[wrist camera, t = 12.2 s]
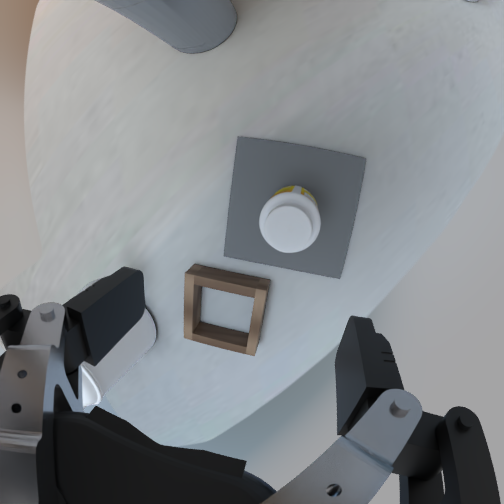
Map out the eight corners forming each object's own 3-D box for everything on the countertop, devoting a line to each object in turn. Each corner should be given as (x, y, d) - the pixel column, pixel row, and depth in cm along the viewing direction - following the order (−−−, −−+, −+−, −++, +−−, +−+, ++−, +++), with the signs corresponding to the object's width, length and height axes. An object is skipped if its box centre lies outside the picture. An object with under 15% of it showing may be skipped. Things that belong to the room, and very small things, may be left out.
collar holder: (194, 263, 35) (184, 272, 32) (270, 279, 34) (266, 290, 31) (191, 326, 39) (183, 337, 36) (258, 342, 37) (254, 356, 34)
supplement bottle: (264, 223, 31) (245, 249, 22) (277, 178, 29) (264, 186, 20) (309, 238, 31) (308, 271, 22) (324, 193, 29) (331, 208, 20)
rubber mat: (239, 136, 29) (237, 136, 29) (365, 158, 27) (366, 158, 27) (225, 254, 34) (223, 256, 33) (339, 276, 32) (340, 278, 31)
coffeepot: (104, 355, 46) (47, 416, 29) (109, 241, 37) (9, 296, 20) (150, 382, 45) (101, 455, 28) (171, 271, 36) (79, 353, 19)
